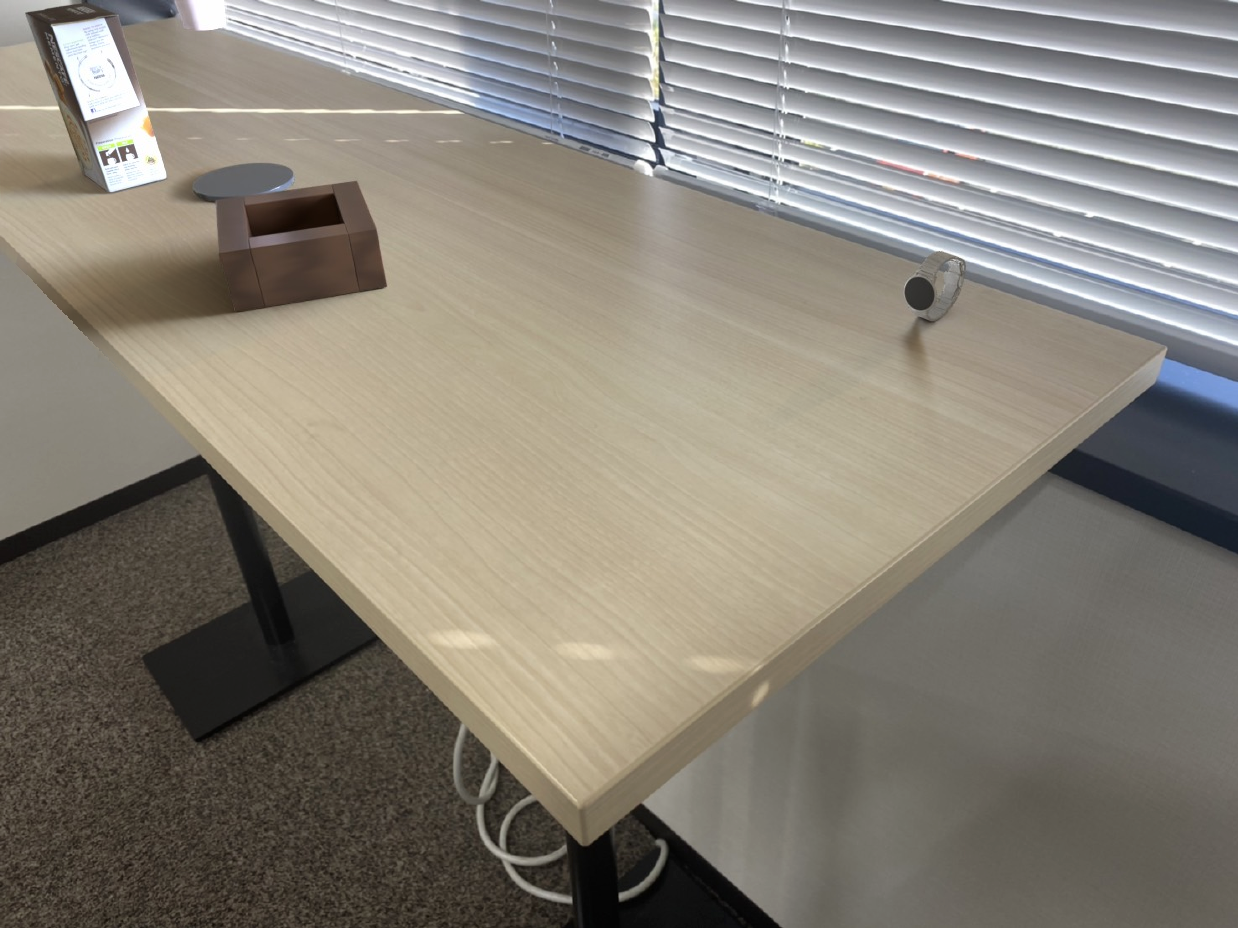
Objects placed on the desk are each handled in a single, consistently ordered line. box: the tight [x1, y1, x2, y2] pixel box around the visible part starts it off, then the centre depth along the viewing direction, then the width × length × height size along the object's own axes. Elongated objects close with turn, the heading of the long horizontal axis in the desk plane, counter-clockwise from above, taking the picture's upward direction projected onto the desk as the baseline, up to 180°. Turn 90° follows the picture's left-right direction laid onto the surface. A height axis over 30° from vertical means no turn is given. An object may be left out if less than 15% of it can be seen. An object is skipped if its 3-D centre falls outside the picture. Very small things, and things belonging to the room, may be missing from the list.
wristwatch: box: [903, 250, 967, 322], centre depth 72 cm, size 3×5×5 cm, turn 132°
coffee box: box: [24, 2, 168, 193], centre depth 98 cm, size 9×6×16 cm
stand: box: [215, 180, 388, 313], centre depth 81 cm, size 12×12×5 cm
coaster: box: [192, 162, 296, 203], centre depth 100 cm, size 10×10×1 cm
